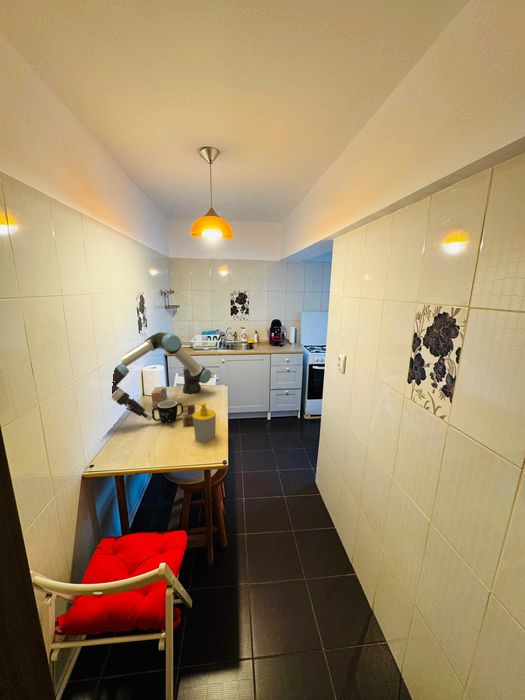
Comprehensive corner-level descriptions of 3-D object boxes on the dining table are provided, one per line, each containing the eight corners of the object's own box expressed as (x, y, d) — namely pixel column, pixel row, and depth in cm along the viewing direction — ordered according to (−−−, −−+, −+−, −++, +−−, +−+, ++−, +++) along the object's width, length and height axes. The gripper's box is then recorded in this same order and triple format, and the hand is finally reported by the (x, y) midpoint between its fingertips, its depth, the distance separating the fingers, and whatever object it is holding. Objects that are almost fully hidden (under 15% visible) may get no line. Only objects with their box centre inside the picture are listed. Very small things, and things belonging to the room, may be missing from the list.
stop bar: (183, 413, 193) (183, 405, 191) (194, 412, 194) (194, 404, 193) (183, 426, 174) (182, 418, 172) (195, 425, 176) (195, 416, 174)
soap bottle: (202, 430, 169) (200, 397, 165) (220, 434, 164) (219, 400, 160) (189, 441, 157) (186, 406, 153) (209, 445, 152) (207, 409, 148)
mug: (149, 424, 177) (148, 406, 175) (166, 414, 192) (165, 397, 189) (170, 428, 171) (169, 410, 169) (186, 417, 186) (185, 401, 184)
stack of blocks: (159, 397, 222) (157, 383, 219) (167, 397, 222) (165, 382, 220) (152, 408, 201) (151, 392, 198) (161, 408, 202) (160, 392, 199)
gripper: (118, 397, 176) (148, 418, 183) (113, 405, 163) (145, 428, 171) (126, 388, 176) (156, 410, 184) (122, 396, 164) (154, 419, 171)
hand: (151, 418), depth 177 cm, fingers closed
